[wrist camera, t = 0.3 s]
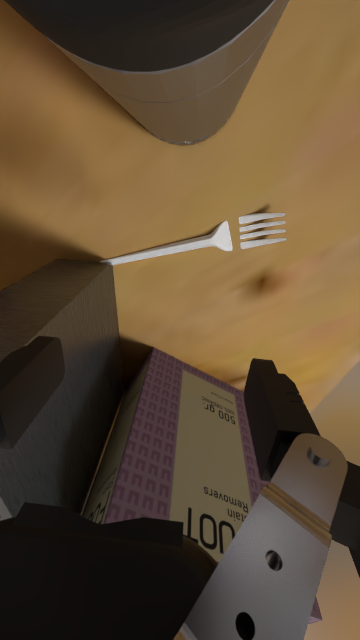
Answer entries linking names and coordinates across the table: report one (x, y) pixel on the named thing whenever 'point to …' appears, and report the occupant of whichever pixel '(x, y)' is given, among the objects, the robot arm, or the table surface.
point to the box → (180, 457)
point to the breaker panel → (63, 383)
